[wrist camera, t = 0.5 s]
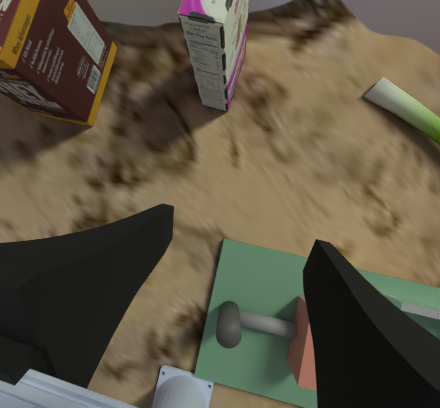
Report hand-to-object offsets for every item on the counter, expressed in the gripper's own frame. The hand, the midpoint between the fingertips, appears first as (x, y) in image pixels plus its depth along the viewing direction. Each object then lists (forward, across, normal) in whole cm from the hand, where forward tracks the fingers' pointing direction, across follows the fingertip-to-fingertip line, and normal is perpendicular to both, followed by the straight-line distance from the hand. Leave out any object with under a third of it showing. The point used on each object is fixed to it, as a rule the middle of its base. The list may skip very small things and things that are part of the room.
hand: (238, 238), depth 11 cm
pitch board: (+14, -15, +23) cm, 31 cm away
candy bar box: (+33, +9, -8) cm, 35 cm away
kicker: (+13, -6, +22) cm, 26 cm away
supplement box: (+29, +34, -4) cm, 45 cm away
